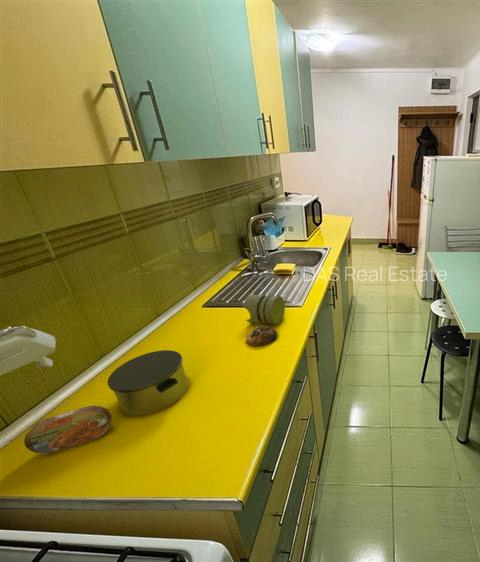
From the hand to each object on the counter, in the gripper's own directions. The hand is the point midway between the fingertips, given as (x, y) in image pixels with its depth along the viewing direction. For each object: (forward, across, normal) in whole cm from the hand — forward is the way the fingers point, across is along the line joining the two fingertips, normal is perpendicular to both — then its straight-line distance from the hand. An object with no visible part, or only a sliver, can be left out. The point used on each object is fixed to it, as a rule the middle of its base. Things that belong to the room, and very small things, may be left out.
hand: (23, 376), depth 65 cm
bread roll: (+42, -42, -7) cm, 59 cm away
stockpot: (+26, -11, +3) cm, 29 cm away
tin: (+18, +3, +10) cm, 21 cm away
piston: (+48, -45, -17) cm, 68 cm away
